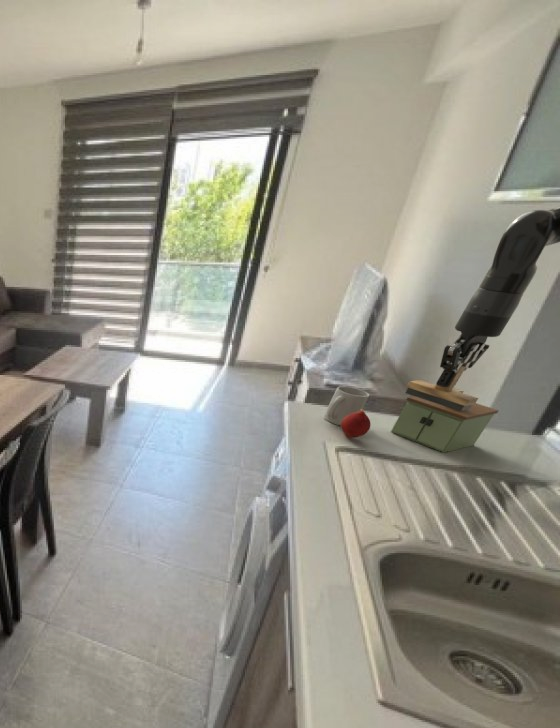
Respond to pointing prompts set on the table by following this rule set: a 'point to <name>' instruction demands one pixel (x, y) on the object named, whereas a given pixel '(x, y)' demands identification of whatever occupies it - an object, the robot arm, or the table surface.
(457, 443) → the cabinet
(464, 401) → the brush
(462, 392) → the crumb
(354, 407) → the cup
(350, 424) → the onion
